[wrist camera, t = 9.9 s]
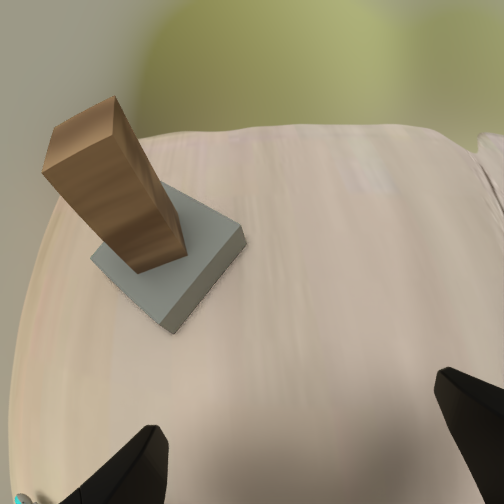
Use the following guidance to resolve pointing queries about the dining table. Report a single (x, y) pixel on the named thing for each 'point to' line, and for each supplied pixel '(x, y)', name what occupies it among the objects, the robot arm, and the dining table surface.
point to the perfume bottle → (23, 499)
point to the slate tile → (179, 263)
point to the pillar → (114, 186)
